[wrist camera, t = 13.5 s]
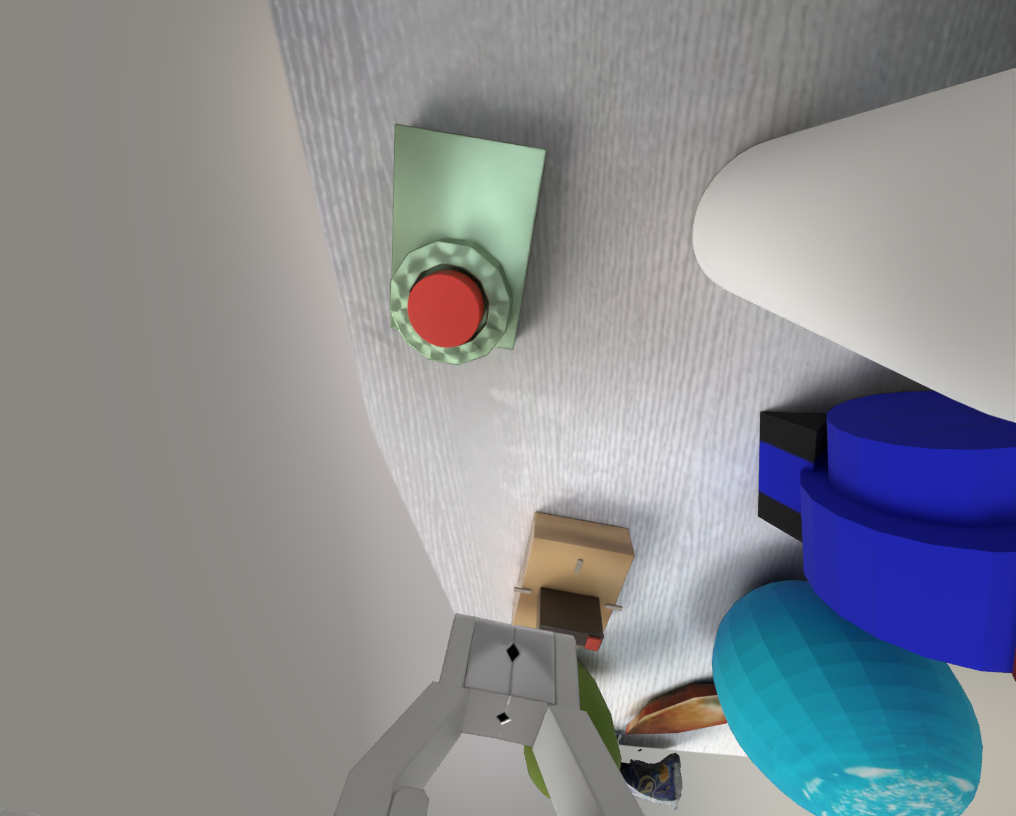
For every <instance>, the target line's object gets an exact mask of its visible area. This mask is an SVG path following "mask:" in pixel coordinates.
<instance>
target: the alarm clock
mask: <svg viewBox="0 0 1016 816" xmlns="http://www.w3.org/2000/svg"><path fill="white" fill-rule="evenodd" d="M758 517H760V518H762V519H763V520H765V521H767V522H768V523H770V524H772V525H773V526H775V527H777V528H779V529H780V530H782V531H784V532H785V533H787V534H789V535H790V536H792V537H794V538H795V539H797V540H799V541H801V542H802V543H803V565H804V574H805V576H806V578H807V579H808V581H809V583H810V585H811V587H812V588H813V590H814V592H815V593H816V594H817V595H818V596H819V597H820V598H821V599H822V600H823V601H824V602H825V603H826V604H827V605H829V606H830V607H831V608H832V609H833V610H834V611H835V612H836V613H837V614H838V615H839V616H841V617H843V618H844V619H846V620H848V621H849V622H851V623H853V624H854V625H856V626H858V627H859V628H861V629H863V630H864V631H866V632H868V633H869V634H871V635H873V636H874V637H876V638H878V639H881V640H883V641H886V642H888V643H891V644H893V645H896V646H898V647H901V648H903V649H905V650H908V651H910V652H913V653H915V654H918V655H920V656H923V657H925V658H929V659H933V660H937V661H942V662H946V663H950V664H954V665H958V666H962V667H966V668H971V669H975V670H979V671H987V672H1002V673H1012V675H1013V677H1014V679H1015V681H1016V423H1015V422H1012V421H1008V420H1005V419H1002V418H998V417H995V416H992V415H988V414H986V413H984V412H981V411H979V410H977V409H974V408H972V407H970V406H967V405H965V404H963V403H960V402H958V401H956V400H953V399H951V398H949V397H947V396H945V395H943V394H941V393H939V392H936V391H917V392H896V393H887V394H878V395H870V396H865V397H861V398H856V399H852V400H848V401H846V402H843V403H841V404H838V405H836V406H834V407H833V408H832V409H831V410H830V411H829V412H828V413H787V412H760V452H759V498H758Z"/></svg>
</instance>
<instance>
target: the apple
mask: <svg viewBox="0 0 1016 816" xmlns="http://www.w3.org/2000/svg"><path fill="white" fill-rule="evenodd" d="M577 669H578V686H579V703H580V710H582V711H586V712H587V714H588V716H589V717H590V719H591V721H592V723H593V725H594V726H595V728H596V730H597V732H598V733H599V735H600V737H601V739H602V741H603V742H604V744H605V746H606V748H607V749H608V751H609V753H610V755H611V757H612V758H613V760H614V762H615V764H616V765H617V767H618V769H619V771H620V765H621V754H620V750H619V746H618V742H617V738H616V734H615V729H614V725H613V721H612V717H611V713H610V711H609V709H608V707H607V705H606V703H605V700H604V698H603V696H602V694H601V692H600V690H599V688H598V686H597V684H596V681H595V680H594V678H593V677H592V676H591V675H590V674H589V672H588V671H587V670H586V669H585V668H584V666H583V665H582V664H581V663H580V662H579V661H578V660H577ZM532 748H533V747H531V746H527V745H524V755H525V760H526V764H527V768H528V773H529V776H530V778H531V779H532V781H533V783H534V784H535V785H536V786H537V788H538V789H539V790H540V791H541V792H542V793H543V794H544V795H545V796H547V797H548V798H550V795H549V793H548V790H547V787H546V785H545V782H544V779H543V777H542V774H541V771H540V769H539V766H538V763H537V761H536V758H535V755H534V753H533V750H532ZM550 799H551V798H550Z"/></svg>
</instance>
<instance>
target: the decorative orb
mask: <svg viewBox="0 0 1016 816" xmlns="http://www.w3.org/2000/svg"><path fill="white" fill-rule="evenodd" d="M712 670H713V679H714V683H715V687H716V691H717V695H718V698H719V701H720V704H721V707H722V710H723V713H724V715H725V718H726V720H727V722H728V725H729V727H730V729H731V731H732V733H733V734H734V736H735V738H736V740H737V741H738V743H739V745H740V746H741V748H742V749H743V750H744V752H745V753H746V754H747V756H748V757H749V758H750V759H751V761H752V762H753V763H754V764H755V765H756V766H757V767H758V768H759V769H760V770H761V772H762V773H763V774H764V775H765V776H766V777H767V778H768V779H769V780H770V781H771V782H772V783H773V784H774V785H775V786H776V787H778V789H780V790H781V791H782V792H783V793H784V794H785V795H787V796H788V797H789V798H790V799H792V800H793V801H794V802H795V803H797V804H798V805H799V806H801V807H803V808H804V809H806V810H807V811H809V812H811V813H812V814H814V815H816V816H960V815H961V814H962V813H963V812H964V810H965V809H966V808H967V807H968V805H969V804H970V803H971V801H972V800H973V799H974V796H975V793H976V791H977V788H978V785H979V782H980V774H981V766H982V749H983V746H982V740H981V734H980V727H979V724H978V721H977V718H976V716H975V713H974V710H973V707H972V705H971V703H970V701H969V699H968V697H967V696H966V694H965V692H964V690H963V688H962V686H961V685H960V683H959V682H958V680H957V678H956V677H955V675H954V674H953V672H952V670H951V669H950V667H949V666H948V664H947V663H946V662H942V661H937V660H933V659H929V658H925V657H923V656H920V655H918V654H915V653H913V652H910V651H908V650H905V649H903V648H901V647H898V646H896V645H893V644H891V643H888V642H886V641H883V640H881V639H878V638H876V637H874V636H873V635H871V634H869V633H868V632H866V631H864V630H863V629H861V628H859V627H858V626H856V625H854V624H853V623H851V622H849V621H848V620H846V619H844V618H843V617H841V616H839V615H838V614H837V613H836V612H835V611H834V610H833V609H832V608H831V607H830V606H829V605H827V604H826V603H825V602H824V601H823V600H822V599H821V598H820V597H819V596H818V595H817V594H816V593H815V592H814V590H813V588H812V587H811V585H810V583H809V581H808V580H785V581H780V582H774V583H769V584H766V585H764V586H761V587H759V588H756V589H754V590H752V591H750V592H749V593H747V594H746V595H745V596H743V597H742V598H740V599H739V600H738V601H737V602H735V603H734V604H733V606H732V607H731V608H730V610H729V611H728V612H727V614H726V615H725V616H724V618H723V620H722V621H721V623H720V625H719V628H718V632H717V635H716V639H715V644H714V648H713V656H712Z"/></svg>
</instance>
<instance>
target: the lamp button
mask: <svg viewBox="0 0 1016 816" xmlns="http://www.w3.org/2000/svg"><path fill="white" fill-rule="evenodd" d="M407 311H408V317H409V320H410V322H411V325H412V327H413V328H414V330H415V331H416V333H417V334H418V335H419V336H420V337H421V338H422V339H424V340H425V341H427V342H428V343H430V344H432V345H435V346H438V347H445V348H450V347H455V346H459V345H461V344H463V343H465V342H466V341H468V340H469V339H470V338H471V337H472V336H473V334H474V333H475V331H476V330H477V328H478V326H479V324H480V322H481V320H482V318H483V314H484V300H483V296H482V293H481V291H480V289H479V288H478V286H477V285H476V283H475V282H474V281H473V280H472V279H471V278H470V277H468V276H467V275H465V274H463V273H461V272H459V271H455V270H439V271H436V272H434V273H432V274H430V275H428V276H427V277H425V278H423V279H422V280H420V281H419V282H418V283H417V284H416V285H415V286H414V288H413V289H412V291H411V293H410V295H409V299H408V305H407Z"/></svg>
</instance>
